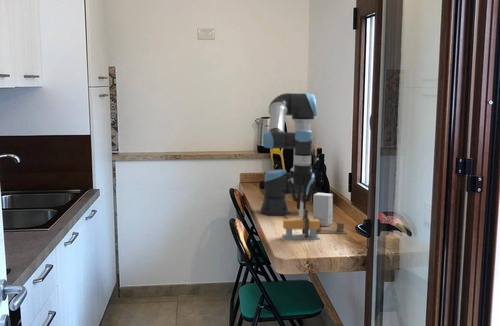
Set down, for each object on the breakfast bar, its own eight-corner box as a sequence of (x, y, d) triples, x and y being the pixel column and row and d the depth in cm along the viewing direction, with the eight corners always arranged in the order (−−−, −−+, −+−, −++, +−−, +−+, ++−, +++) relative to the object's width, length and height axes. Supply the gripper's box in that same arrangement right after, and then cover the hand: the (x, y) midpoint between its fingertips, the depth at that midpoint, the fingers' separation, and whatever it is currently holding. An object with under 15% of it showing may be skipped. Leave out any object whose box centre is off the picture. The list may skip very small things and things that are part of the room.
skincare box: (332, 224, 259) (333, 193, 257) (327, 227, 253) (328, 195, 251) (317, 221, 263) (318, 191, 261) (311, 224, 257) (313, 194, 255)
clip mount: (282, 235, 237) (282, 226, 236) (316, 235, 238) (317, 225, 237) (284, 239, 230) (284, 229, 230) (319, 239, 232) (320, 229, 231)
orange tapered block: (283, 226, 235) (283, 219, 234) (317, 226, 236) (317, 219, 236) (284, 229, 231) (284, 221, 230) (319, 228, 232) (319, 221, 232)
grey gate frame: (302, 233, 238) (303, 207, 236) (305, 233, 238) (306, 207, 236) (304, 237, 231) (305, 211, 229) (308, 237, 231) (309, 211, 229)
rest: (310, 230, 247) (311, 221, 246) (343, 230, 248) (344, 221, 247) (313, 233, 241) (313, 224, 240) (346, 233, 242) (347, 224, 241)
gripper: (289, 165, 225) (287, 218, 229) (318, 165, 226) (316, 218, 230) (286, 163, 233) (285, 214, 236) (315, 163, 234) (313, 214, 237)
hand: (300, 216), depth 233 cm, fingers closed
